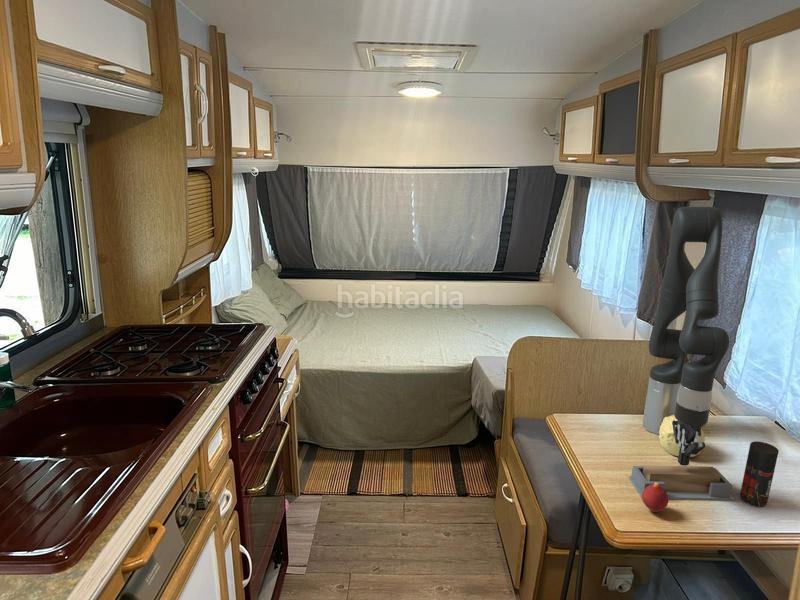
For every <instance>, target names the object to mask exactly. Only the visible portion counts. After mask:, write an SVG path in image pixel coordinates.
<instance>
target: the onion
mask: <svg viewBox="0 0 800 600" xmlns="http://www.w3.org/2000/svg"><path fill="white" fill-rule="evenodd" d="M641 501H642V502H643V504H644V505H645V506H646V507H647V508H648V510H649V511H650V512H651V513H655V512H656V513H658V512H661V511H663V510H665V509H666V507H667V506H668V504H669V499H668V495H667V493H666V491H665V490H664V489H663V488H662V487H661V486H660V485H659V484H658V483H657V482H654V484H653V485H649V486H647V487H646V488H645V489H644V491H643V493H642V498H641Z"/></svg>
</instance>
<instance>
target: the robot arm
mask: <svg viewBox="0 0 800 600" xmlns="http://www.w3.org/2000/svg"><path fill="white" fill-rule="evenodd" d="M722 237H723V215H722V212H721V210H720V208H719V207H716V206H681V207H679V208H677V209H676V211H675V213H674V216H673V220H672V225H671V233H670V240H669V242H670V243H669V250H668V254H667V255H668V257H667V262H666V265H665V271H664V275H663V279H662V283H661V288H660V291H659V293H660V294H659V299H658V305H657V311H656V315H655V319H654V322H653V325H652V329H651V333H650V336H649V341H648V352H649V353H650V355H651V357H655V358H660V359H667V360H670V361H667V362H664V363H661V364H656V365H653V366H651V368H650V372H649V378H648V386H647V391H646V395H645V403H644V411H643V418H642V427H643V428H644V429H645V430H646V431H648V432H650V433H653V434H655V435H656V434H657V435H660V434H659V430H660V426H661V424H662V423H663V419H664V418H665V417H669V416H672V415H674V416H675V418H676V419H677V420H678V421H672V425H673V431H674V437H675V442H676V444H678V448H679V456H677V462H678V464H679V466H690V465H689V464H690V460H691V457H690V455H691V454H694V455H696V454H698V453H699V452H700V451H701V450H702V451H703V450H704V449H705V448H706V442H705V441H704V442H701V440H700V436H701V429H702V428H703V426H705V425H707V424H708V421H709V416H710V412H711V405H712V397H713V396H712V395H713V394H712V393H713V386H714V380H715V375H716V373H717V371H718V368H719V366H720V364H721V362H722V360H723V359H724V357H725V355H726V354H727V351H728V349H729V347H730V337H729V334H728V332H727V331H726V330H725V329H724V328H722V327H718V326H716V327H715V326H704V325H698V321H706V320H711V319H714V318H716V317H717V316H718V315H719V311H720V310H719V306H720V305H719V290H718V289H719V288H718V284H719V283H718V278H719V268H720V259H721V252H722V251H721V249H722V248H721V247H722ZM686 243H705V244H706V248H705V251H704V255H703V257H702V258H701V260H700V262H699V263H698V264H697V266H696V267H695V268H694V266H693V265H692V263H691V262H690V260H689V258H688V256H687V254H686V252H685V244H686ZM684 313H685V316H684V321H683V324H682V328H681V329H674V328H668V327H669V326H670V324H671V323H672V322H673V321H675V320H676V319H677V318H679V317H681V316H682V315H683V314H684ZM688 355H697V356H704V357H703V358H701V359H697V360H690V361H687V357H688ZM702 451H701V452H702ZM701 452H700V453H701ZM700 453H699V454H700ZM699 454H698V455H699Z"/></svg>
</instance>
